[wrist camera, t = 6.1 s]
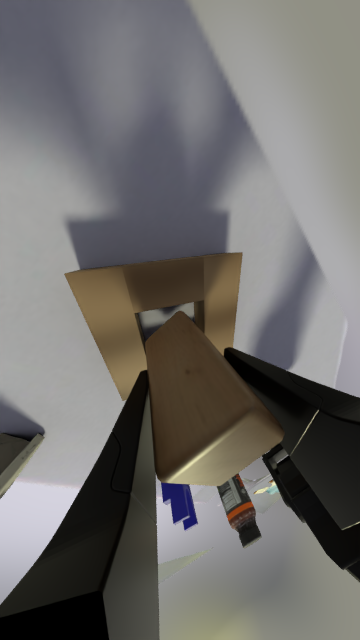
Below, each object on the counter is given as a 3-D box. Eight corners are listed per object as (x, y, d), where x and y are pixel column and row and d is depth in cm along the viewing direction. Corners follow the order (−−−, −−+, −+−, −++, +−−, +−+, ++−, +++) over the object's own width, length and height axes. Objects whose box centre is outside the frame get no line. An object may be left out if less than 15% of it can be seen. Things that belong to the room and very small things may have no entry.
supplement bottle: (234, 457, 36) (269, 532, 27) (216, 470, 37) (244, 549, 27) (225, 453, 33) (262, 536, 24) (206, 467, 34) (234, 554, 24)
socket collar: (219, 353, 18) (230, 367, 16) (124, 380, 15) (122, 400, 13) (224, 252, 12) (242, 252, 10) (79, 269, 10) (64, 273, 8)
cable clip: (161, 481, 30) (165, 528, 25) (179, 471, 31) (188, 515, 26) (173, 494, 36) (179, 534, 31) (189, 485, 37) (197, 524, 31)
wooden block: (179, 307, 11) (259, 406, 4) (206, 335, 12) (292, 436, 6) (142, 340, 11) (150, 490, 4) (174, 363, 13) (217, 491, 6)
